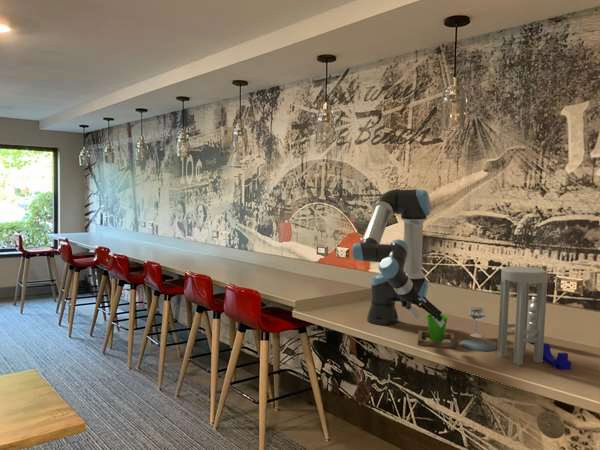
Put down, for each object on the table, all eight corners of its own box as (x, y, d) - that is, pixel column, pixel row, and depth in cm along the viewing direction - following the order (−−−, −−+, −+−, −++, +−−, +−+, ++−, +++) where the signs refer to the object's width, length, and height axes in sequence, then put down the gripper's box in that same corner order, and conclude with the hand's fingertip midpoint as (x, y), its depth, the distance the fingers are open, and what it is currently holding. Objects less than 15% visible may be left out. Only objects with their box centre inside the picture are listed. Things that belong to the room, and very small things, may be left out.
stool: (489, 353, 194) (493, 266, 192) (522, 350, 198) (526, 265, 196) (516, 367, 179) (521, 273, 177) (551, 364, 184) (556, 271, 181)
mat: (453, 341, 208) (453, 340, 208) (481, 339, 213) (481, 338, 213) (474, 352, 195) (474, 351, 195) (503, 349, 199) (503, 348, 199)
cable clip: (570, 369, 178) (571, 353, 178) (559, 370, 178) (560, 354, 177) (550, 358, 190) (551, 343, 190) (539, 358, 190) (540, 343, 189)
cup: (448, 345, 203) (449, 319, 203) (425, 343, 205) (426, 318, 204) (446, 339, 212) (447, 314, 211) (424, 337, 214) (425, 312, 213)
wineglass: (484, 334, 220) (486, 308, 219) (483, 338, 214) (484, 311, 213) (468, 332, 223) (470, 306, 222) (467, 336, 217) (468, 309, 216)
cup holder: (417, 344, 203) (417, 340, 203) (418, 334, 218) (418, 330, 218) (455, 348, 199) (455, 343, 199) (453, 338, 214) (454, 333, 214)
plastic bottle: (541, 341, 212) (543, 295, 210) (543, 345, 205) (546, 299, 204) (524, 339, 214) (527, 294, 212) (526, 344, 207) (529, 297, 206)
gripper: (378, 289, 205) (403, 320, 214) (423, 301, 184) (448, 335, 193) (388, 276, 207) (413, 307, 216) (433, 286, 186) (458, 320, 195)
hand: (429, 320), depth 204 cm, fingers open, 13 cm apart
